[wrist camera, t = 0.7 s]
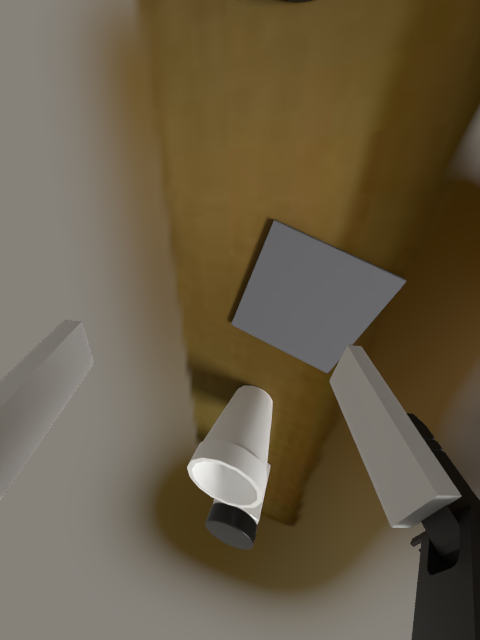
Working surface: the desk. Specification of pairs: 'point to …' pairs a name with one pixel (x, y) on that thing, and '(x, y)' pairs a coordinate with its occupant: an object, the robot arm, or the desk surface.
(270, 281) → the charcoal mat
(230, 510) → the jar
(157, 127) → the desk surface
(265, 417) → the foam cup
